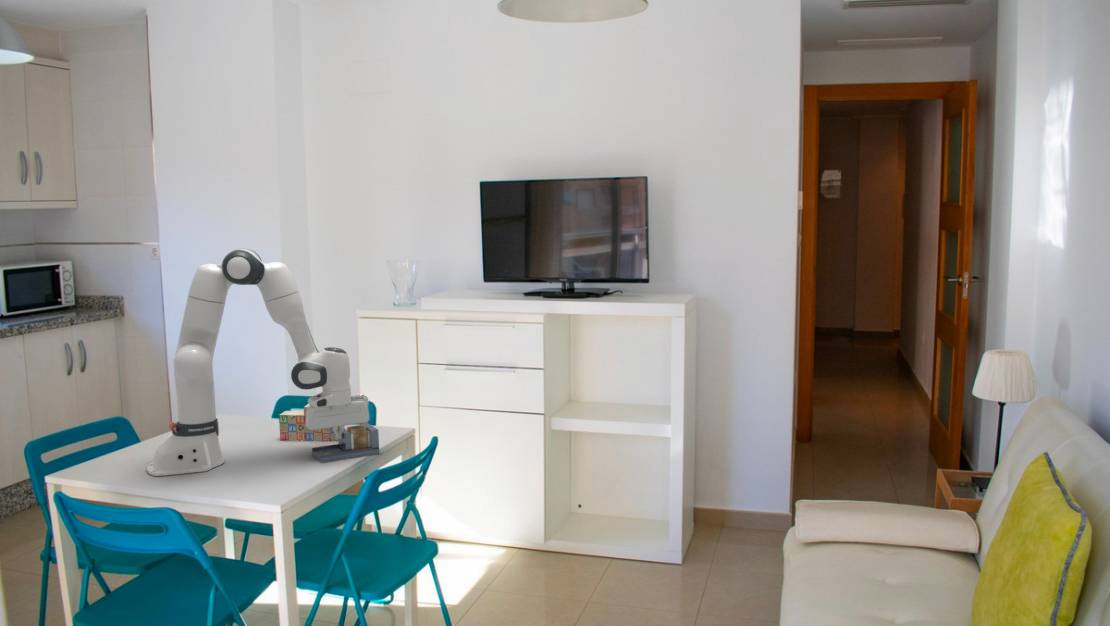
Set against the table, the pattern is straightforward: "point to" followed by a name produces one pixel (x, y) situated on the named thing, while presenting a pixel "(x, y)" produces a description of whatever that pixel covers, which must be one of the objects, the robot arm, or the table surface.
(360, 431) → the oak block
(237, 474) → the table surface
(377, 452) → the vise base
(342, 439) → the sliding jaw
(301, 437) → the stack of blocks
